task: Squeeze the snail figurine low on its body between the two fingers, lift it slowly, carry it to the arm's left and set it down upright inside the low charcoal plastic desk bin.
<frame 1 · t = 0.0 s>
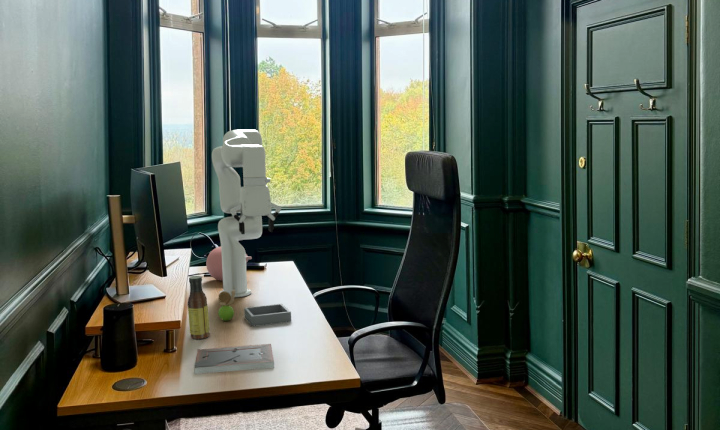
hand: (256, 232, 236), 31 cm above the table, tool pointing down, fingers open, 9 cm apart
snail figurine: (227, 321, 242), on the table
picture frame: (234, 363, 199), on the table
bin: (267, 319, 242), on the table
sauce bottle: (199, 337, 223), on the table
balloon: (230, 280, 308), on the table
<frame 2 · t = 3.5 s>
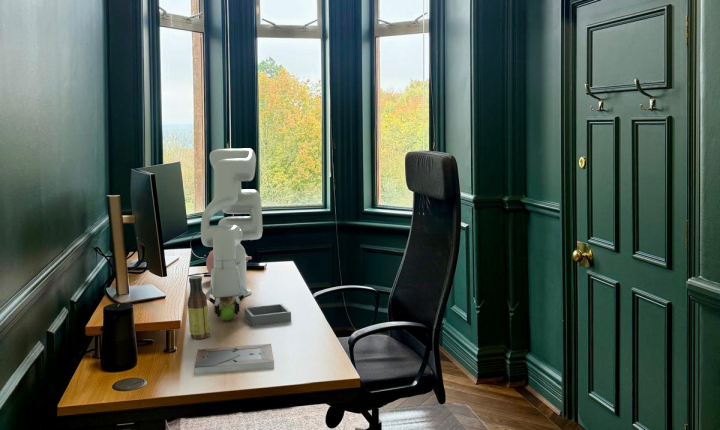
hand: (227, 314, 242), 2 cm above the table, tool pointing down, fingers closed on snail figurine, 5 cm apart
snail figurine: (228, 320, 242), on the table, touching gripper
everything else where it was.
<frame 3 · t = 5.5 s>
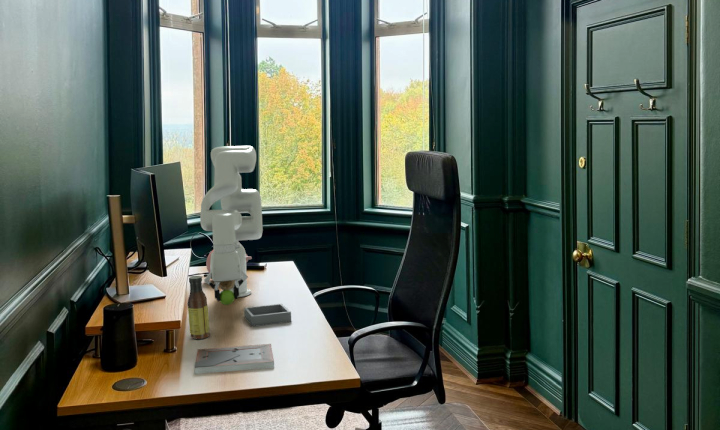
hand: (227, 299, 242), 8 cm above the table, tool pointing down, fingers closed on snail figurine, 5 cm apart
snail figurine: (228, 305, 242), point 5 cm above the table, touching gripper
everything else where it was.
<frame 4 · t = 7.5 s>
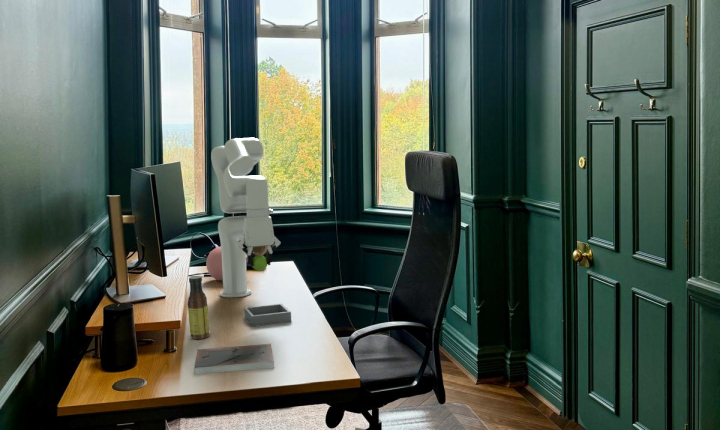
hand: (259, 264, 240), 20 cm above the table, tool pointing down, fingers closed on snail figurine, 5 cm apart
snail figurine: (261, 271, 240), point 17 cm above the table, touching gripper
everything else where it was.
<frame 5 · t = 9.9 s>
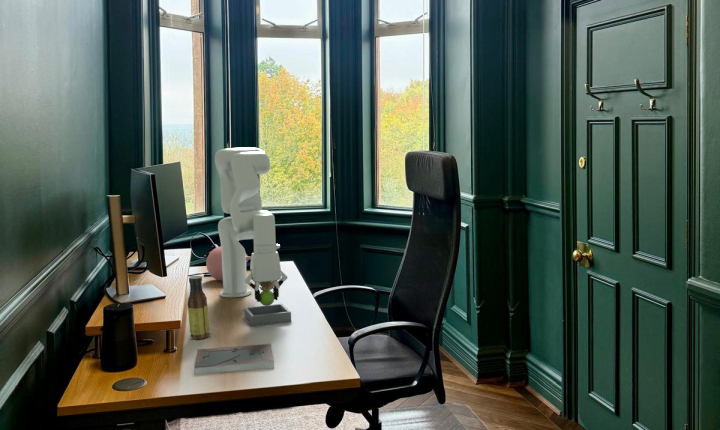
hand: (266, 299, 241), 7 cm above the table, tool pointing down, fingers closed on snail figurine, 5 cm apart
snail figurine: (268, 306, 242), point 5 cm above the table, touching gripper
everything else where it was.
when the fingers open (4 cm above the table, at t = 11.5 s): snail figurine stays where it is, resting on bin.
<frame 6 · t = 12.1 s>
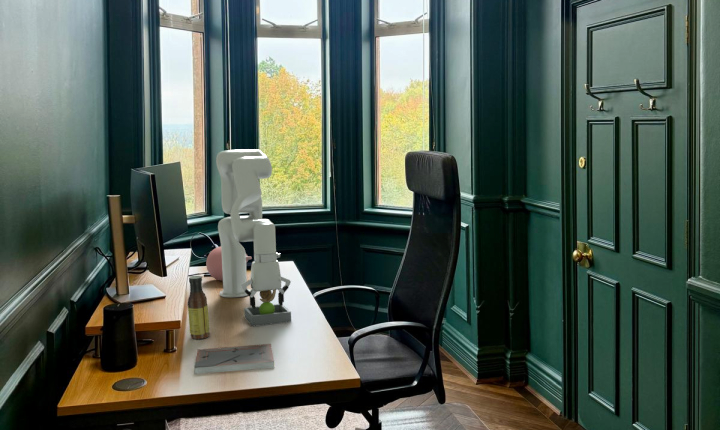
hand: (267, 306, 242), 5 cm above the table, tool pointing down, fingers open, 9 cm apart
snail figurine: (268, 317, 243), point 1 cm above the table, touching bin
everything else where it was.
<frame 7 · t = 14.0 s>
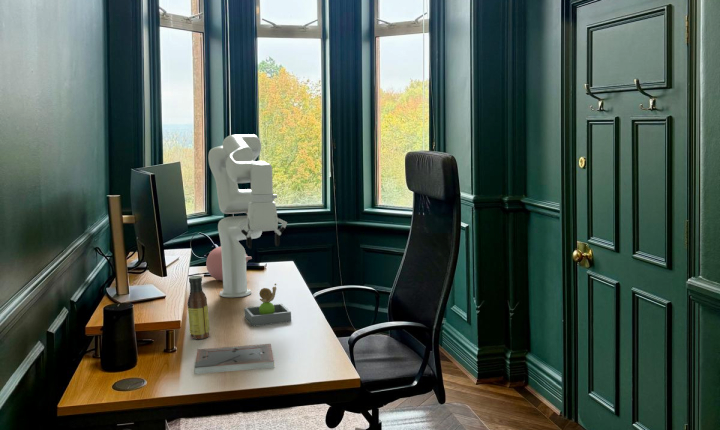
hand: (263, 246, 244), 25 cm above the table, tool pointing down, fingers open, 9 cm apart
nothing on the table moved.
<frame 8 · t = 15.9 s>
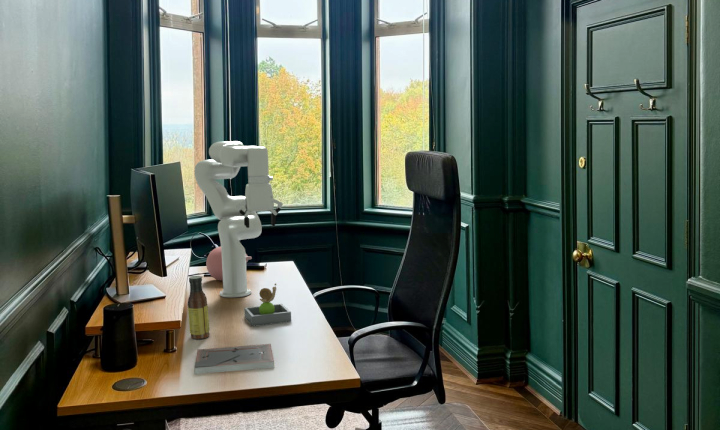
hand: (260, 226, 257), 30 cm above the table, tool pointing down, fingers open, 9 cm apart
nothing on the table moved.
at the end: snail figurine inside the target area on the bin (0.5 cm from its centre), point 0.6 cm above the bin's base; snail figurine tilted 0°; the gripper is holding nothing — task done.
